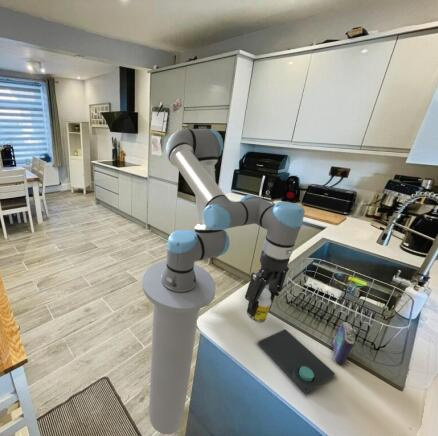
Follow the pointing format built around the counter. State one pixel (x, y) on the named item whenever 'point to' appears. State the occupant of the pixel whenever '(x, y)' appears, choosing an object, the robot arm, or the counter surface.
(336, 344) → the flask
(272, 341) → the scale
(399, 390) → the counter surface
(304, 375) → the scale button
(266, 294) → the pill bottle
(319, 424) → the counter surface
